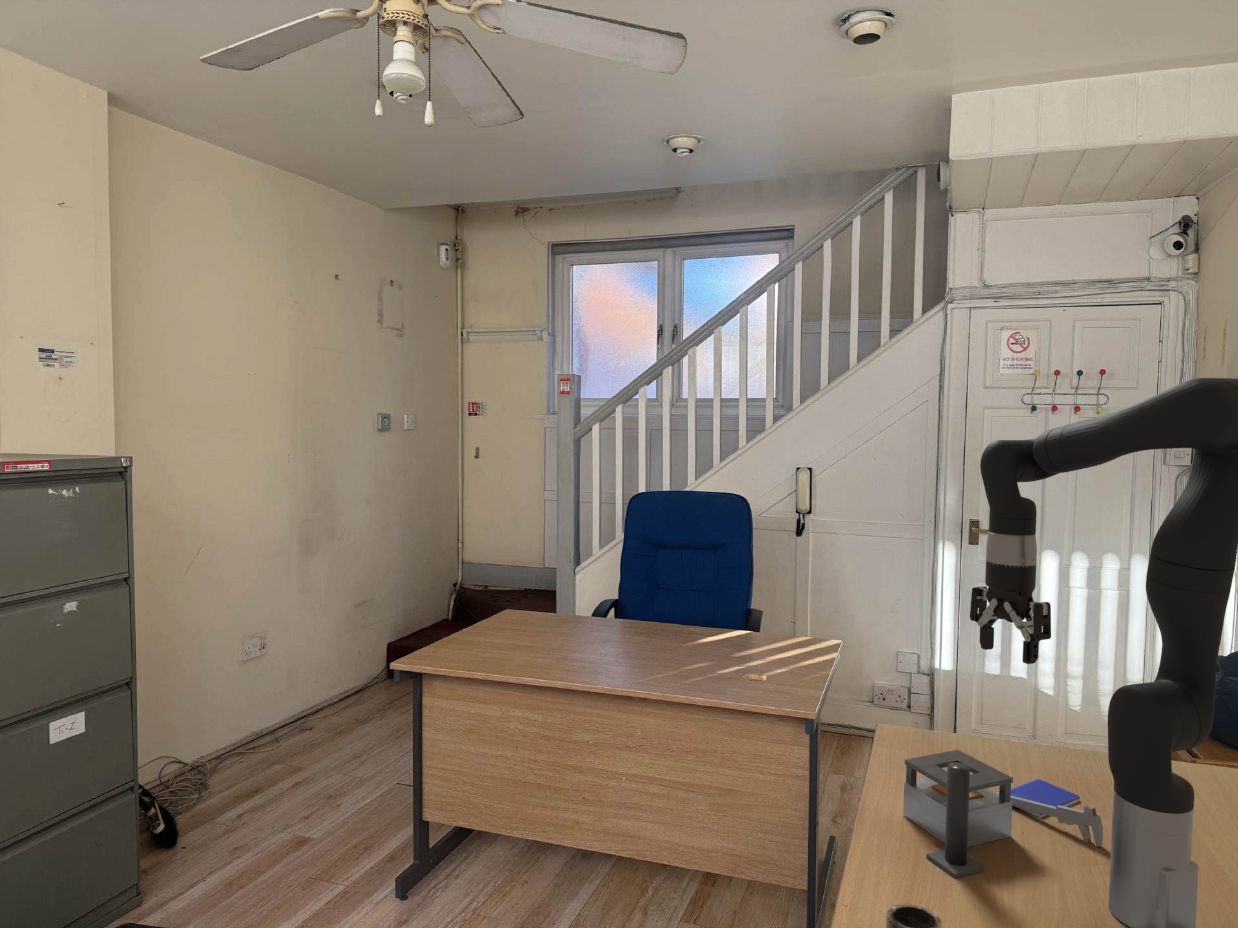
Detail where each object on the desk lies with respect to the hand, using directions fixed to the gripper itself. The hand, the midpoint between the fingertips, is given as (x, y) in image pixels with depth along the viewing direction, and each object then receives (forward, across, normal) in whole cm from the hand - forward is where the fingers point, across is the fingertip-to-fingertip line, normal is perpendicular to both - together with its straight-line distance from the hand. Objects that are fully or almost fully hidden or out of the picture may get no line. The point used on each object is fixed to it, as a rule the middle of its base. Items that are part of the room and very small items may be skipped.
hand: (1007, 655), depth 132 cm
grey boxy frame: (+30, +4, +6) cm, 31 cm away
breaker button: (+29, +4, +6) cm, 29 cm away
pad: (+30, -5, +15) cm, 34 cm away
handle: (+30, -5, +15) cm, 33 cm away
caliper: (+31, 0, -10) cm, 32 cm away
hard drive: (+31, +6, -16) cm, 35 cm away
